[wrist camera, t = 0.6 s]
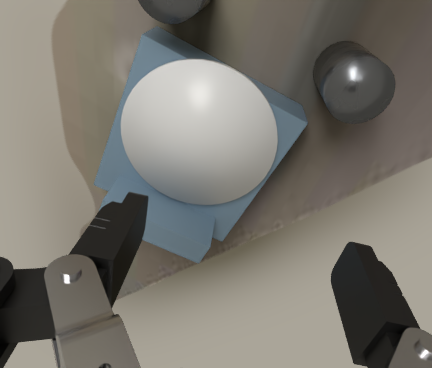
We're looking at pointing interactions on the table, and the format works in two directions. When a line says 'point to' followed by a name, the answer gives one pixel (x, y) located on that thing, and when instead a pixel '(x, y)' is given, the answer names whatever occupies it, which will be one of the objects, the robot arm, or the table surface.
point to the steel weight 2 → (353, 82)
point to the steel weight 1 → (173, 9)
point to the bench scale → (193, 142)
